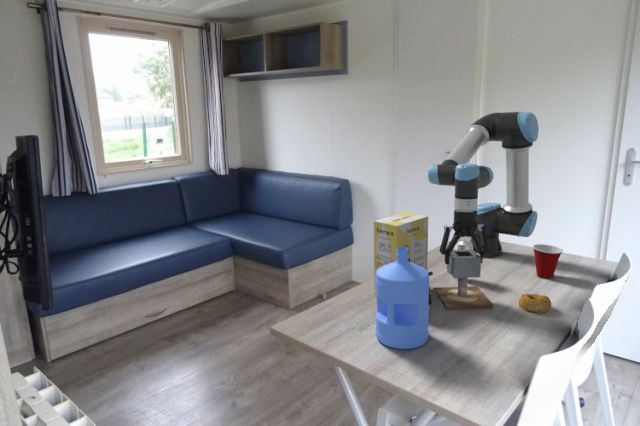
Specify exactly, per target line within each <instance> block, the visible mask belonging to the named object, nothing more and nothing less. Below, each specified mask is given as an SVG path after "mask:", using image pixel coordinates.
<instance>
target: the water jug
mask: <svg viewBox="0 0 640 426" xmlns="http://www.w3.org/2000/svg"><path fill="white" fill-rule="evenodd" d="M407 250H408V248H406V247H398V248H397V261H396V262H393V263H390V264H387V265H384V266H381V267H380V268H378V269H377V271H376V277H375V286H376V294H375V295H376V314H375V336H376V339H377V340H378V341H379V342H380V343H381V344H383V345H384V346H387V347H389V348H392V349H398V350H411V349H416V348H419V347H422V346H423V345H425V344H426V342H427V341H428V339H429V313H430V307H429V286H430V276H429V273H428V272H429V271H428V269H427V270H426V269H425V268H423V267H421V266H418V265H415V264H413V263H410V262H408V260H407V257H408V254H407Z"/></svg>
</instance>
